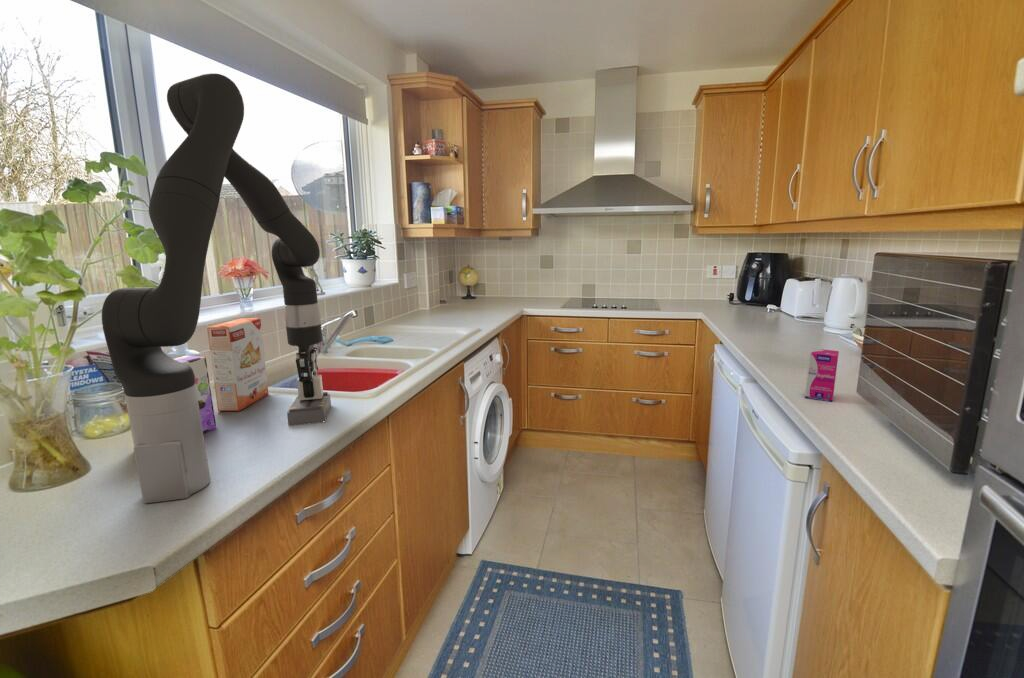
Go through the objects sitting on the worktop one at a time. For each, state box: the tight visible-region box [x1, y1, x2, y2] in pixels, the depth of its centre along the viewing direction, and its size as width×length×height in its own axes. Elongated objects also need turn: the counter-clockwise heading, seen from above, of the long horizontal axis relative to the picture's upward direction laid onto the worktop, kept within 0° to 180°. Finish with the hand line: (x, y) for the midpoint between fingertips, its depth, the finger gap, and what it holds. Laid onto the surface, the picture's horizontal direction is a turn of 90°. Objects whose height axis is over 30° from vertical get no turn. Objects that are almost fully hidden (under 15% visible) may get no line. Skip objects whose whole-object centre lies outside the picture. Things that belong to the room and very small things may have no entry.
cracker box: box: [206, 317, 269, 412], centre depth 122 cm, size 14×6×21 cm, turn 179°
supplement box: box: [804, 347, 840, 403], centre depth 118 cm, size 6×6×12 cm
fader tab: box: [296, 374, 324, 400], centre depth 116 cm, size 3×5×5 cm, turn 103°
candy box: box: [173, 355, 217, 434], centre depth 100 cm, size 14×6×16 cm, turn 161°
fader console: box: [286, 391, 332, 427], centre depth 114 cm, size 12×8×4 cm, turn 13°
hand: (311, 393), depth 116 cm, fingers open, 4 cm apart
